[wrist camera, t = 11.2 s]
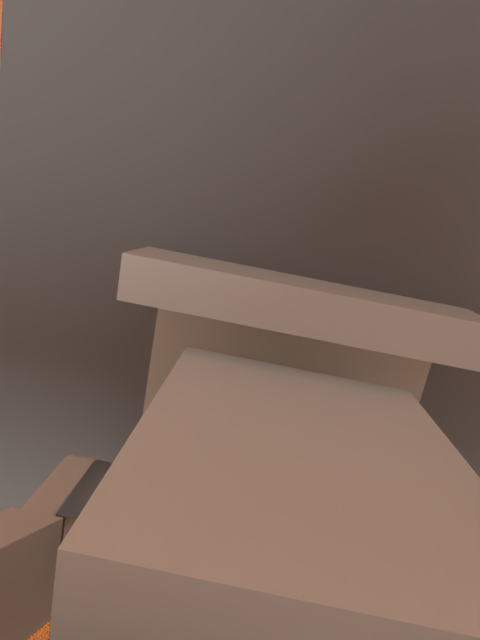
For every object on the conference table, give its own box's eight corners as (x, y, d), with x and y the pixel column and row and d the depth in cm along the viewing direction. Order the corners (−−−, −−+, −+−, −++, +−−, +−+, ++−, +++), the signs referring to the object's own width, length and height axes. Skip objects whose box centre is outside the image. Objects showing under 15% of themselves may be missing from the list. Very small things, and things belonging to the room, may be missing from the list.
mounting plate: (37, -240, 9) (-59, -430, 7) (783, -109, 9) (1006, -251, 6) (-7, 535, 14) (-73, 611, 11) (479, 637, 14) (531, 740, 11)
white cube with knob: (186, 346, 10) (-174, 910, 2) (409, 391, 9) (1062, 1201, 2) (155, 534, 11) (-142, 1365, 3) (353, 575, 11) (580, 1542, 3)
